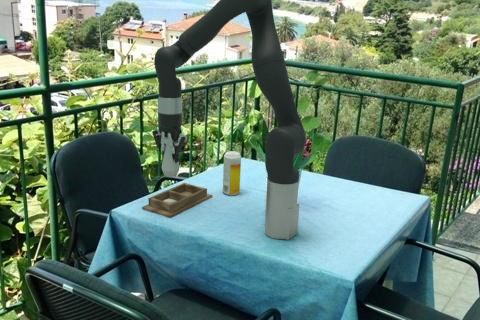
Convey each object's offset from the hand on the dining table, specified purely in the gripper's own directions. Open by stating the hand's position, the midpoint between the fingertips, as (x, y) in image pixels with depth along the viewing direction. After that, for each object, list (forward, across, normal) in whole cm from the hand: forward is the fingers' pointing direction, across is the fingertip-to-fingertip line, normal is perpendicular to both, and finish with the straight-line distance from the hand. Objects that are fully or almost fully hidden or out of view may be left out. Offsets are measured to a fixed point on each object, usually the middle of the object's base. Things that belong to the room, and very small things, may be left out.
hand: (170, 162), depth 167 cm
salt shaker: (+4, 0, 0) cm, 4 cm away
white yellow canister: (+16, -9, -23) cm, 30 cm away
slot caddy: (+16, 0, -4) cm, 16 cm away
